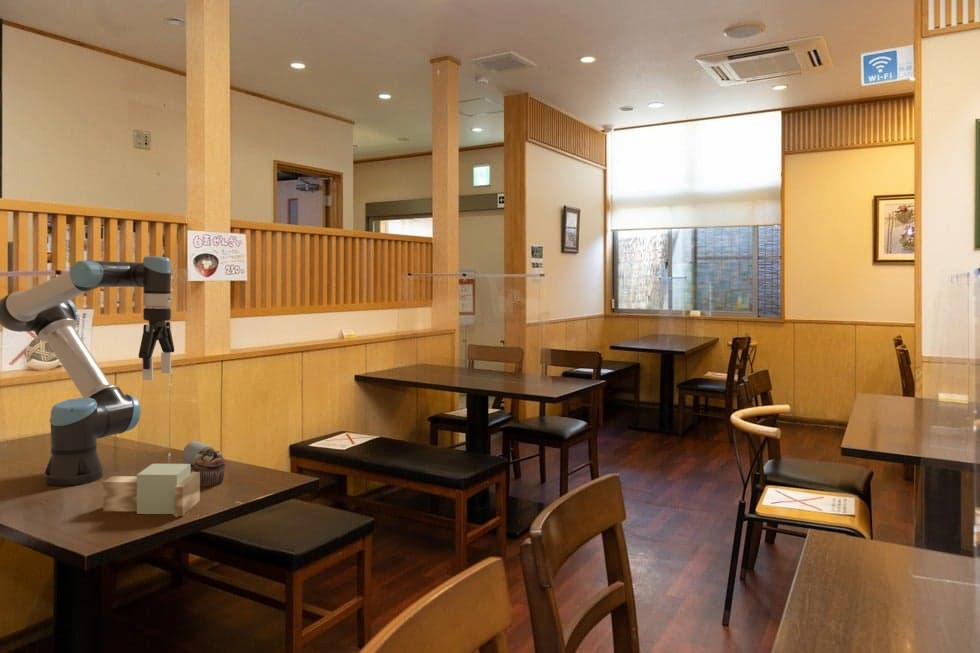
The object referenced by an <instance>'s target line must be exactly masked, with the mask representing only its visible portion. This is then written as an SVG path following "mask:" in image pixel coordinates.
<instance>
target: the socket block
mask: <svg viewBox="0 0 980 653" xmlns="http://www.w3.org/2000/svg"><path fill="white" fill-rule="evenodd" d="M191 468H192V466H191V464H188V463H151V464H150V465H148V466H146V468H144V469H142V470H141V471H140V472H138V473H137V474H136V476H137V511H136V515H137V514H175V486H177V485H178V484H179V483H180V482H181V481H182V480H184V479H185V478H186V477H187V476H188V475H190V474H191V473H192V469H191Z"/></svg>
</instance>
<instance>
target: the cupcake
mask: <svg viewBox="0 0 980 653" xmlns="http://www.w3.org/2000/svg"><path fill="white" fill-rule="evenodd" d="M204 452H206V454H205V453H204ZM196 458H197V459H196V460H195V464H194V465H192V466H191V473H192V472H200V487H201V486H211V487H215V485H216V486H218V485H221V484H222V483H223V482H224V478H225V472H226V468H227V466H226V462H225V458H224V457H223V452H221V451H219V450H217V451H216V450H215V451H213V452H212V450H211V449H209V450H207V451H201V452H199V453H198V454H197V455H196Z"/></svg>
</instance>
